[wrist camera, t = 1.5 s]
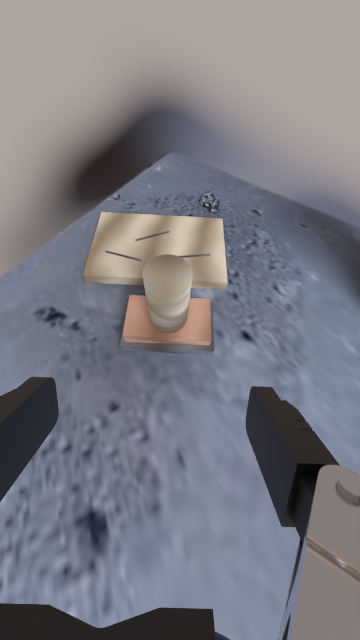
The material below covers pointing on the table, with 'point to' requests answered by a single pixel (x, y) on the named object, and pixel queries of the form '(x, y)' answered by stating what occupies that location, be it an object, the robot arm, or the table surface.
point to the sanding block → (168, 312)
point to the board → (156, 248)
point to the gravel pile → (209, 202)
